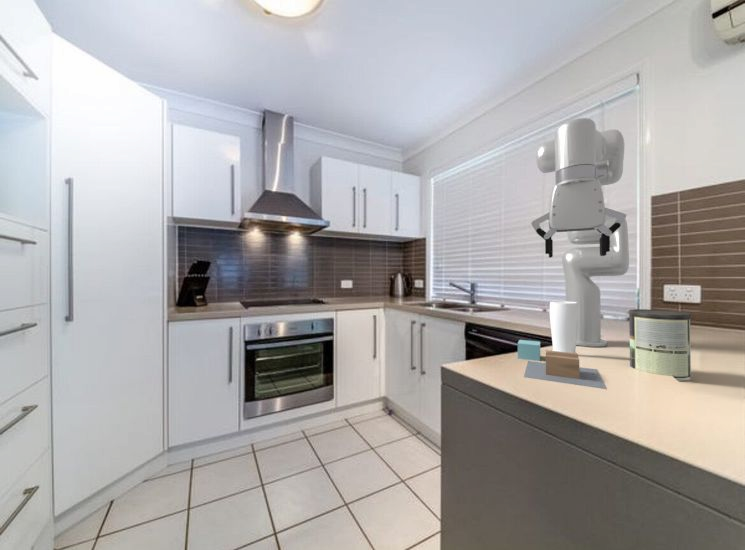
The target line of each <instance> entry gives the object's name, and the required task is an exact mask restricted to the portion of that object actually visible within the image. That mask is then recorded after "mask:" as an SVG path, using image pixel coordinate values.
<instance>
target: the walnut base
mask: <svg viewBox="0 0 745 550" xmlns="http://www.w3.org/2000/svg"><path fill="white" fill-rule="evenodd" d="M545 363H546V375H552V376H559V377H567V378H574V379H580V378H579V367H580V357H579V354H578V353H577V352H576V353H569V352H559V351H553V350H547V349H546V351H545Z"/></svg>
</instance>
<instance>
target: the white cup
mask: <svg viewBox="0 0 745 550" xmlns="http://www.w3.org/2000/svg"><path fill="white" fill-rule="evenodd" d="M549 321H550V322H549V323H550V324H549V325H550V332H551V334H550V335H551V342H552V351H559V352H569V353H577V352H576V349H577V345H576V339H577V328H578V303H577V302H566V300H565V301H563V300H562V301H560V300H559V301H557V300H556V301H554V300H553V301H552V300H551V301H550V302H549Z"/></svg>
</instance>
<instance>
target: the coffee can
mask: <svg viewBox="0 0 745 550" xmlns="http://www.w3.org/2000/svg"><path fill="white" fill-rule="evenodd" d="M628 315H629V317H628V319H629V320H628V321H629V323H628V324H629V326H628V327H629V366H630V367H631V368H632V369H635V370H638V371H641V372H644V373H649V374H654V375H660V376H667V377H673V378H674V379H675V381H677V382H686V381H691V380H692V371H691V370H692V367H691V366H692V365H691V363H692V361H691V317H692V314H691V313H690V312H688V311H687V312H686V311H681V310H680V311H678V310H667V309H648V308H647V309H645V308H644V309H638V308H636V309H629V310H628Z"/></svg>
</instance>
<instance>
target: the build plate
mask: <svg viewBox="0 0 745 550" xmlns="http://www.w3.org/2000/svg"><path fill="white" fill-rule="evenodd" d="M523 378H526V379H527V378H528V379H533V380H541V381H548V382H554V383H562V384H568V385H575V386H582V387H588V388H596V389H603V390H608V389H607V386H606V385H605V382H604V380H603V379H602V376H601V374H600V372H599V369H597V368H589V367H581V366H579V378H580V379H574V378H567V377H559V376H552V375H546V362H541V361H533V360H527V364H526V368H525V371H524V374H523Z"/></svg>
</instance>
